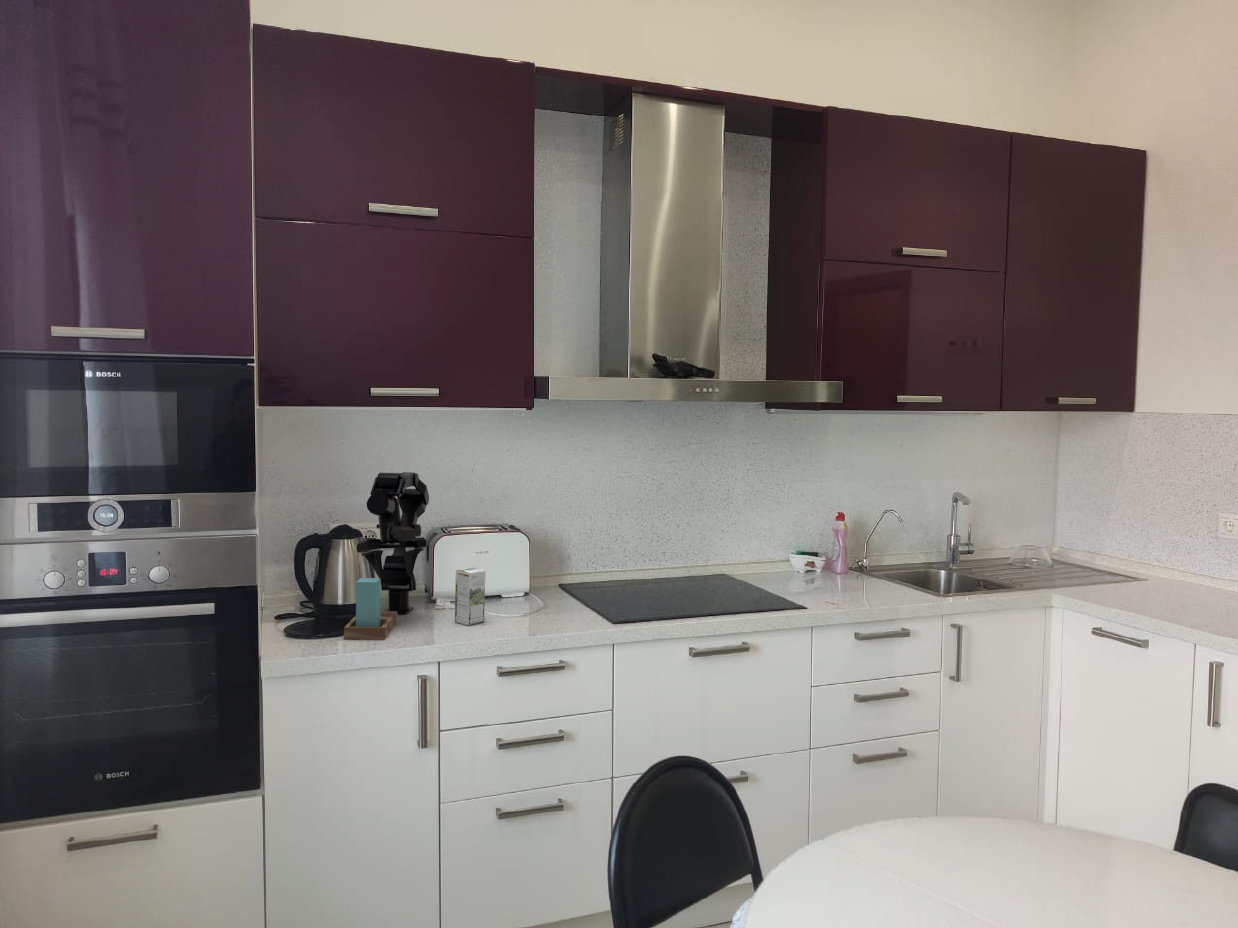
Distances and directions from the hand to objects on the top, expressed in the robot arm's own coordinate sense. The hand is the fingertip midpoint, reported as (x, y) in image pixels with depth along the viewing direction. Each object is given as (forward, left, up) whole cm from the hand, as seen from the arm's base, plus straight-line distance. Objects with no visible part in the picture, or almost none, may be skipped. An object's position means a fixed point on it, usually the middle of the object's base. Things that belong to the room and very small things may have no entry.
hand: (395, 577), depth 245 cm
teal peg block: (+10, -3, -13) cm, 17 cm away
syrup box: (-7, +18, -13) cm, 23 cm away
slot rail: (+7, -4, -13) cm, 15 cm away
